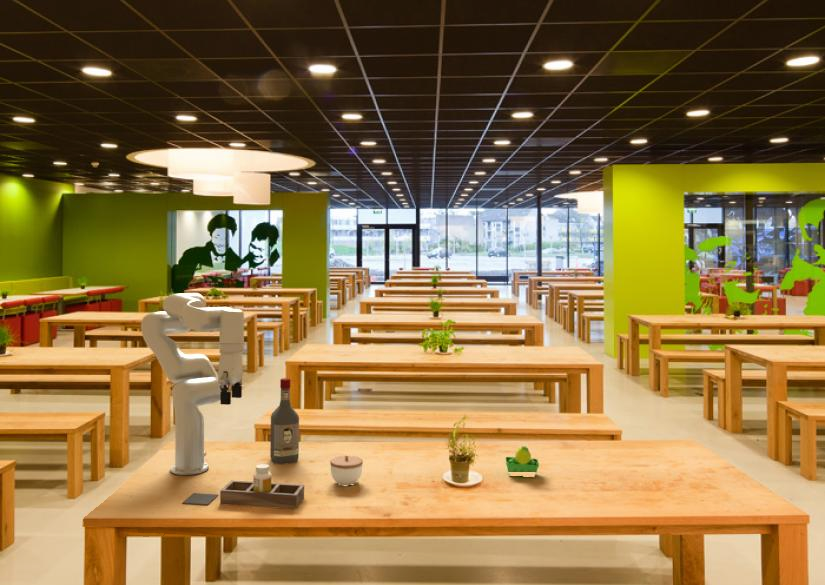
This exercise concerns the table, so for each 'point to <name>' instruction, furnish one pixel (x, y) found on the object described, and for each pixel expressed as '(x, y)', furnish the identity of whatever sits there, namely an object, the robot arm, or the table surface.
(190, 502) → the mat
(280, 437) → the liquor
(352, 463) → the lidded jar
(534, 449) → the table surface
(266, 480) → the supplement bottle
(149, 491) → the table surface
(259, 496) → the rack
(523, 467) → the fruit basket
